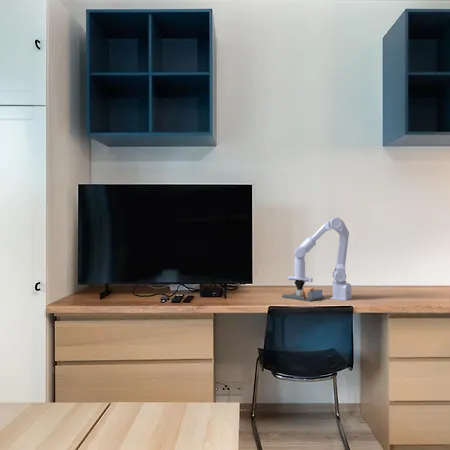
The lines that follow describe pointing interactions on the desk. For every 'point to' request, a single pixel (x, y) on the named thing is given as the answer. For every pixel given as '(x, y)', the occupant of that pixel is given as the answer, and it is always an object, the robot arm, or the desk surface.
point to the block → (307, 291)
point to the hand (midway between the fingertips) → (299, 294)
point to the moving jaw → (300, 292)
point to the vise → (311, 296)
